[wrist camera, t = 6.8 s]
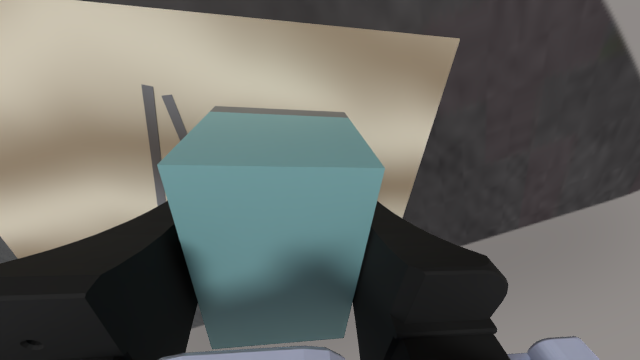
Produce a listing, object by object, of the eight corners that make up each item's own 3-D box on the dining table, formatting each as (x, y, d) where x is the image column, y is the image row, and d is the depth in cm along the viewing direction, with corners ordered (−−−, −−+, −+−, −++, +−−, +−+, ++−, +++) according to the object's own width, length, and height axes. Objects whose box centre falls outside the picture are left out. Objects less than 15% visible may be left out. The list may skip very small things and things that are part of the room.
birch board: (383, 237, 17) (390, 254, 16) (43, 239, 14) (18, 259, 13) (440, 38, 11) (460, 38, 10) (-131, -19, 8) (-211, -29, 7)
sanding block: (326, 247, 14) (343, 337, 10) (235, 250, 14) (211, 349, 9) (344, 112, 10) (385, 168, 6) (215, 105, 10) (156, 164, 5)
